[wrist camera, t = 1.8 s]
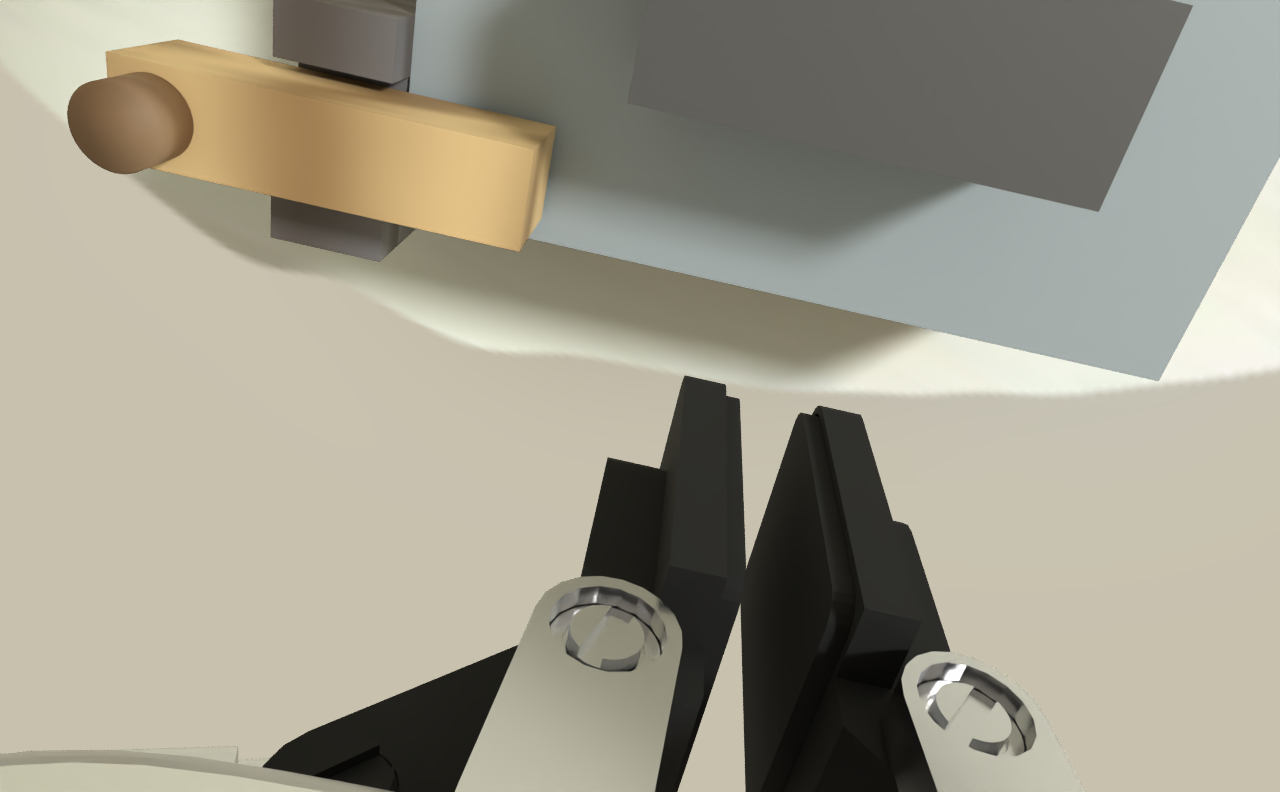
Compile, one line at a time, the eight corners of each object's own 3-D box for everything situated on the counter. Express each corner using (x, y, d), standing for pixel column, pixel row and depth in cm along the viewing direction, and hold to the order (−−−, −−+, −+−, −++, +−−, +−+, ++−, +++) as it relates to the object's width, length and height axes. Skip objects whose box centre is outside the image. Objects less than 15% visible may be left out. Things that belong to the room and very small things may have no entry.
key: (556, 126, 23) (521, 163, 19) (541, 217, 24) (505, 271, 20) (177, 39, 23) (61, 59, 19) (181, 136, 24) (72, 174, 20)
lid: (1398, -183, 21) (1703, -241, 14) (1127, 349, 27) (1252, 474, 21) (478, -405, 20) (365, -567, 14) (423, 190, 27) (329, 266, 20)
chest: (1242, -152, 27) (1522, -207, 17) (1039, 301, 34) (1161, 438, 24) (437, -345, 26) (279, -507, 17) (398, 155, 33) (270, 237, 24)
